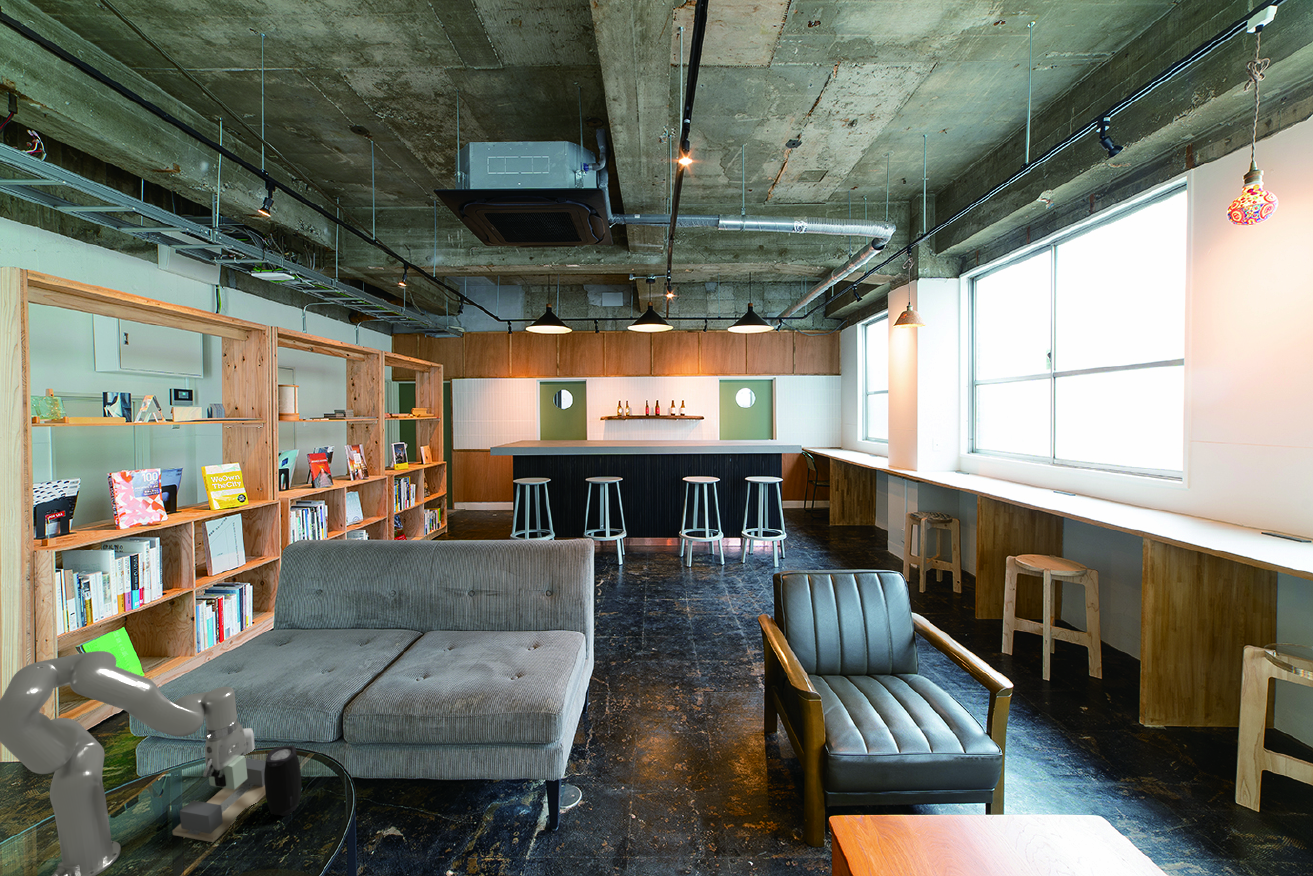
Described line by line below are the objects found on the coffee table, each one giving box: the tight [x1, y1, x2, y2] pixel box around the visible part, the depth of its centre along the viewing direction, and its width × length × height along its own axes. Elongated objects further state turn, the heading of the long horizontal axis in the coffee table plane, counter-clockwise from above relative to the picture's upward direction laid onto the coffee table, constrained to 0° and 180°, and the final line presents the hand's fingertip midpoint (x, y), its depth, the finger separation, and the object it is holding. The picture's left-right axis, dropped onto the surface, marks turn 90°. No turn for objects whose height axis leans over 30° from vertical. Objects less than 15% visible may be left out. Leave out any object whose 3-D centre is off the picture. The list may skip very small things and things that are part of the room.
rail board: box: [172, 758, 266, 843], centre depth 172 cm, size 24×14×8 cm, turn 171°
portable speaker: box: [264, 744, 302, 817], centre depth 171 cm, size 9×9×20 cm
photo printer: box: [242, 727, 256, 756], centre depth 189 cm, size 10×4×12 cm, turn 123°
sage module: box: [208, 755, 248, 789], centre depth 170 cm, size 4×9×8 cm, turn 81°
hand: (228, 779), depth 171 cm, fingers closed on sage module, 4 cm apart
